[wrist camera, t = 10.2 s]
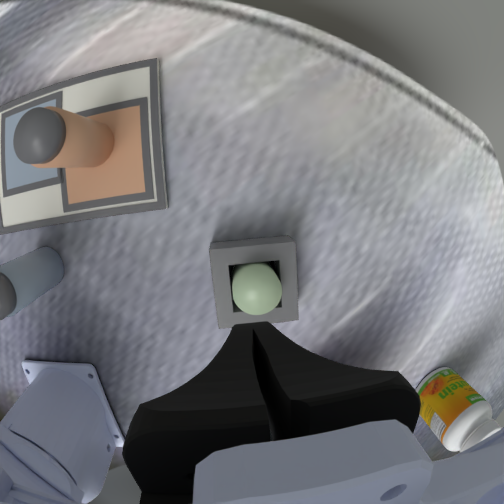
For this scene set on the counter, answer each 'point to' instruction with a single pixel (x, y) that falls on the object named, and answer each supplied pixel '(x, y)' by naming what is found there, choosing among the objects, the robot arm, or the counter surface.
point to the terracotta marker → (61, 139)
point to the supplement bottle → (455, 410)
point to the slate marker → (28, 279)
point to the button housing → (251, 252)
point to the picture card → (84, 178)
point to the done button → (256, 287)
